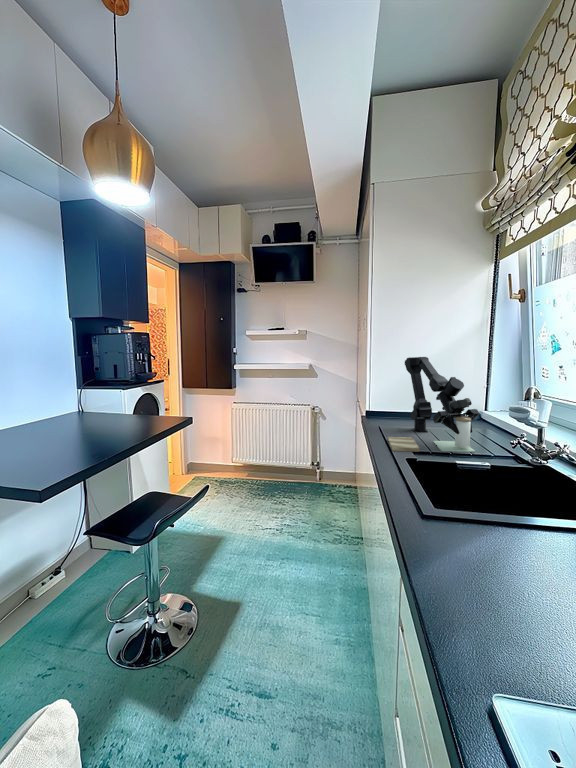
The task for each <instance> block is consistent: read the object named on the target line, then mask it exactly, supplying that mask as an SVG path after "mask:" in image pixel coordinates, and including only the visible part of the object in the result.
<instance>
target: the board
mask: <svg viewBox="0 0 576 768" xmlns="http://www.w3.org/2000/svg"><path fill="white" fill-rule="evenodd" d="M387 441H389V442H388V445H389V447H390V448H391V451H392V452H413V453H414V452H415V453H418V452H419V453H420V449H421V448H420V447H419V445H418V444H417V442H416V440H415V439H414V438H413V437H410V436H409V437H407V436H405V437H404V436H401V437H400V436H387Z"/></svg>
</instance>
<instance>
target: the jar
mask: <svg viewBox="0 0 576 768" xmlns="http://www.w3.org/2000/svg"><path fill="white" fill-rule="evenodd" d="M454 419H455V420H454V421H455V424H456V426H457V428H458V431H459V434H456V433H455V432H454V441H455V446H457V447H462V448H468V447H471V433H470V429H471V425H472V421H471V418H470V417H464V416H458V417H456V418H454Z"/></svg>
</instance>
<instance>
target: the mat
mask: <svg viewBox="0 0 576 768" xmlns="http://www.w3.org/2000/svg"><path fill="white" fill-rule="evenodd" d="M432 442H433V443H434V445H435V446H436V445H437V446H436V447H437V448H438V450H439V451H441V452H452V453H453V452H454V453H455V452H458V453H476V450H475V449H474V448H472V447H471V446H470V447H468V448H462V447H457V446H455V440H451V441H450V440H433V441H432Z"/></svg>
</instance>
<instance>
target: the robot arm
mask: <svg viewBox="0 0 576 768" xmlns="http://www.w3.org/2000/svg"><path fill="white" fill-rule="evenodd" d="M404 366H405V369H406V371H407V372H408V373H409V374H410V379H411V384H412V390H413V395H414V400H415V401H414V403H413V405H412V407H413V410H412V411H411V413H410V414H409V416H410V417H409V418H410V419H411V420H413V423H414V424H413V427H412V428H413V429H412V430H413V432H415V431H419V432H418V433H428V432H429V430H428V429H427V420H431V417H432V414H433V408H432V403H431V401H428V400H427V399H426V395H425V391H424V384H423V379H422V374H421V373H422V372H423V373H424V375H425V376H426V377H427V379H428V382H429V383H428V385H429V387H430V389H431V391H432V392H434V393H437V396H436V398H435V400H436V401H440V403H441V404H442V405H441V406H442V408H441V409H442V410H439V411H437V412H436V413H435V415H433V417H432V420H433V422H434V424H441V425H444V426H446V427H447V428H449V430H451V431H453V432H454V434H455V433H456V434H459V431H458V428H457V426H456V421H455V420H454V419H455V418H456V417H458V416H464V417H470V418H471V422H472V421H474V420H475V419H476V418H477V417H478V416H479V415H480V412H479V410H478V409H477V408H470V409H467V408H469V407H470V406H471V405H473V404H472V400H471V399H470V398H469V397H465V398H463V399H457V400H456V398H455V397H457V396H458V395H459V394H460V392H461V391H462V390H463V389H464V387H465V383H464V382H463V381H461V379H458V378H457V377H456V376H451V377H450V378H449V379H447V378H446V377H445V376H443V375H441V374H440V373H438V371H437V370H436V369H435V367H434V366H433V364H432V363H431V362H430V360H429V357H427V356H416V357H414V356H413V357H412V356H411V357H410V356H409V357H406V359H405V360H404ZM438 392H439V393H438ZM465 408H466V409H467V410H466V411H465ZM464 411H465V412H464ZM472 433H473V425H472V424H471V429H470V434H472Z"/></svg>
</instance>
